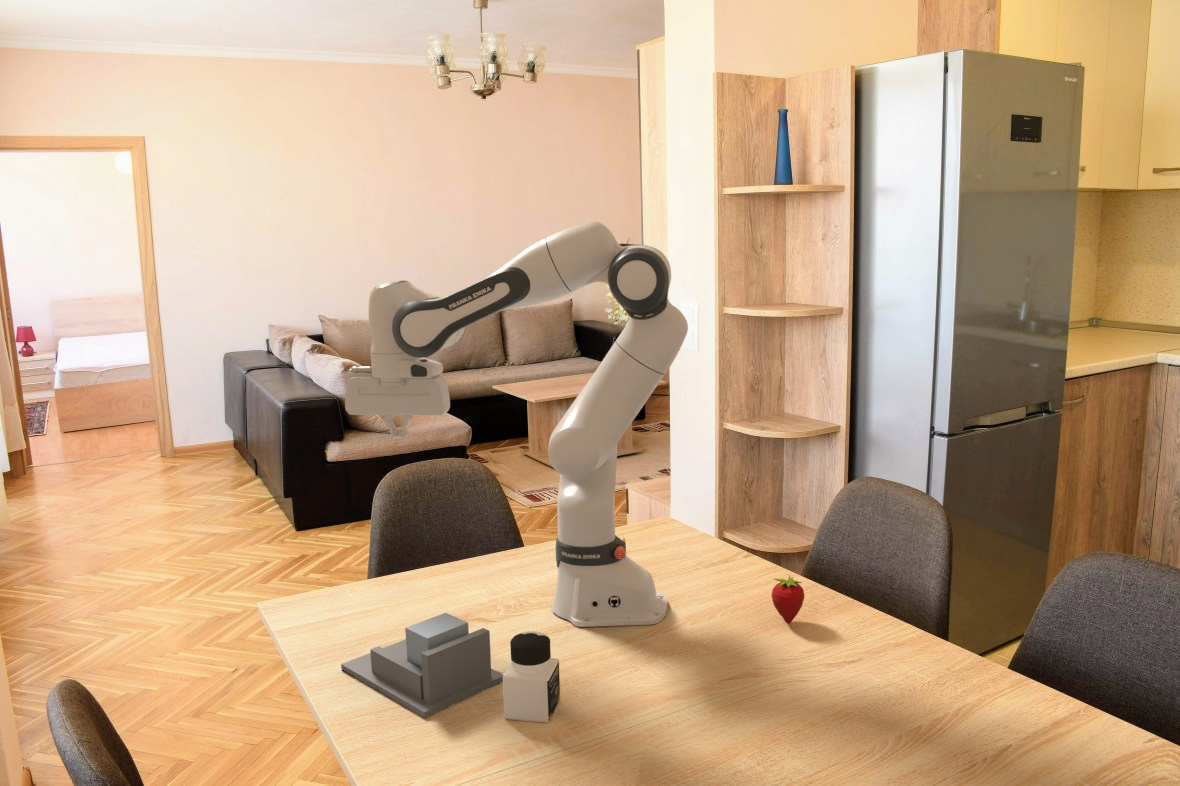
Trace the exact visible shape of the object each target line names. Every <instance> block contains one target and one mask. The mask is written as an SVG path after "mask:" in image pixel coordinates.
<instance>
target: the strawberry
mask: <svg viewBox="0 0 1180 786" xmlns="http://www.w3.org/2000/svg"><path fill="white" fill-rule="evenodd" d="M788 576H789V577H788V578H787V579H784V578H773V580H775V581H778V583H776V584H775V585H774V586H773V588H772V590H771V600H772V603H773V606H774V608H775V610H776V611H777V612H778V614H779V615H780V616H781V618H782V619H783V620H784V622H785V623H787V624H790V623H792V622H793V621H794V619H795V618H796V616H797V615H798V614H799V612H800V611H801V608H802V607H803V603H804V602H805V601H804V600H805V591H804V589H803V587H802V586H801V584H802V583H803V582H802V581H798V580H795V578H794V577H791V575H788Z"/></svg>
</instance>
